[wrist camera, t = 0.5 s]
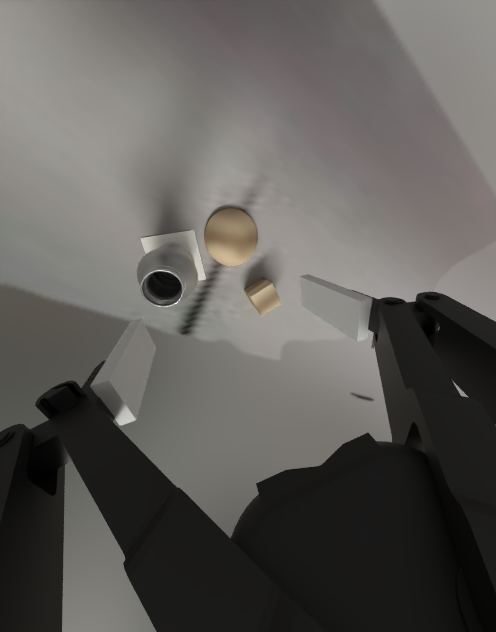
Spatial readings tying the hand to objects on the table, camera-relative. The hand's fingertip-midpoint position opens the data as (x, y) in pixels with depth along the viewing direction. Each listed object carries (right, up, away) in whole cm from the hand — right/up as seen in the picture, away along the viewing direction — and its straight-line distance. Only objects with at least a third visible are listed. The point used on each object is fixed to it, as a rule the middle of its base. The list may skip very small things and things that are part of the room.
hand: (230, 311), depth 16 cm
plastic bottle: (-12, +10, +19) cm, 25 cm away
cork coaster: (-2, +14, +21) cm, 25 cm away
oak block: (+4, +5, +27) cm, 27 cm away
